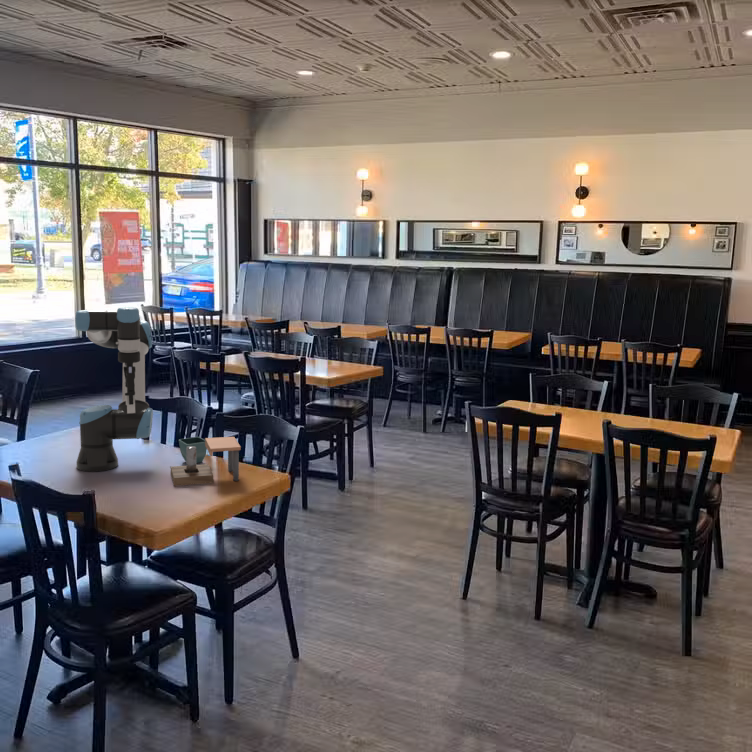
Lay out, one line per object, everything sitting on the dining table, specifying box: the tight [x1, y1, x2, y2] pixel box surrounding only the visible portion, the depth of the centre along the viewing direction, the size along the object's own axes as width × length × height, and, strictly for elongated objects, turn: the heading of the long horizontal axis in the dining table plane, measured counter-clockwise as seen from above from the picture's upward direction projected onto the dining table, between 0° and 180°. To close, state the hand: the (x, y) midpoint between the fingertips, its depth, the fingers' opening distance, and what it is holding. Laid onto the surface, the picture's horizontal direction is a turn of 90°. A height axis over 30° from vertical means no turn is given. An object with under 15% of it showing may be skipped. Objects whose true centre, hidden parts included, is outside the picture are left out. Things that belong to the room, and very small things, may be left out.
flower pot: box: [178, 436, 208, 464], centre depth 303 cm, size 9×9×9 cm
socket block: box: [170, 463, 214, 487], centre depth 284 cm, size 14×14×3 cm
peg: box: [185, 446, 197, 473], centre depth 283 cm, size 4×4×12 cm
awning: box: [204, 436, 242, 482], centre depth 287 cm, size 15×11×13 cm
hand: (130, 408), depth 276 cm, fingers open, 13 cm apart
